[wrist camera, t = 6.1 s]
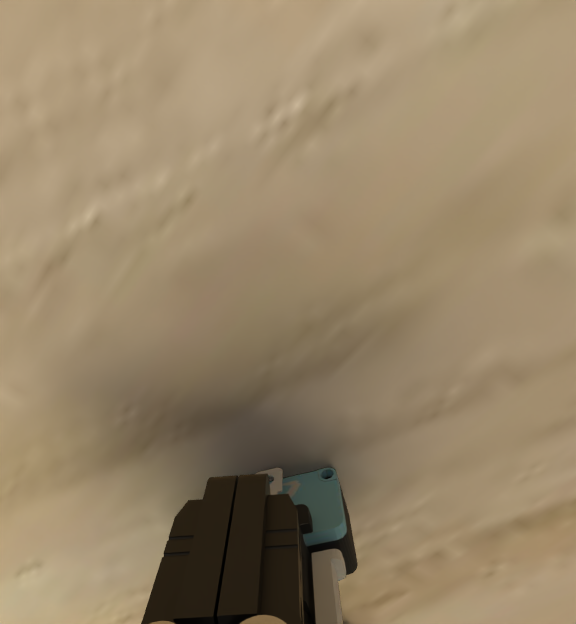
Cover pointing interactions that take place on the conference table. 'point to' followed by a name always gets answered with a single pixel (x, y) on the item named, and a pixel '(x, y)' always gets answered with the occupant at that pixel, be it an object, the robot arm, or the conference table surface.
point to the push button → (320, 539)
